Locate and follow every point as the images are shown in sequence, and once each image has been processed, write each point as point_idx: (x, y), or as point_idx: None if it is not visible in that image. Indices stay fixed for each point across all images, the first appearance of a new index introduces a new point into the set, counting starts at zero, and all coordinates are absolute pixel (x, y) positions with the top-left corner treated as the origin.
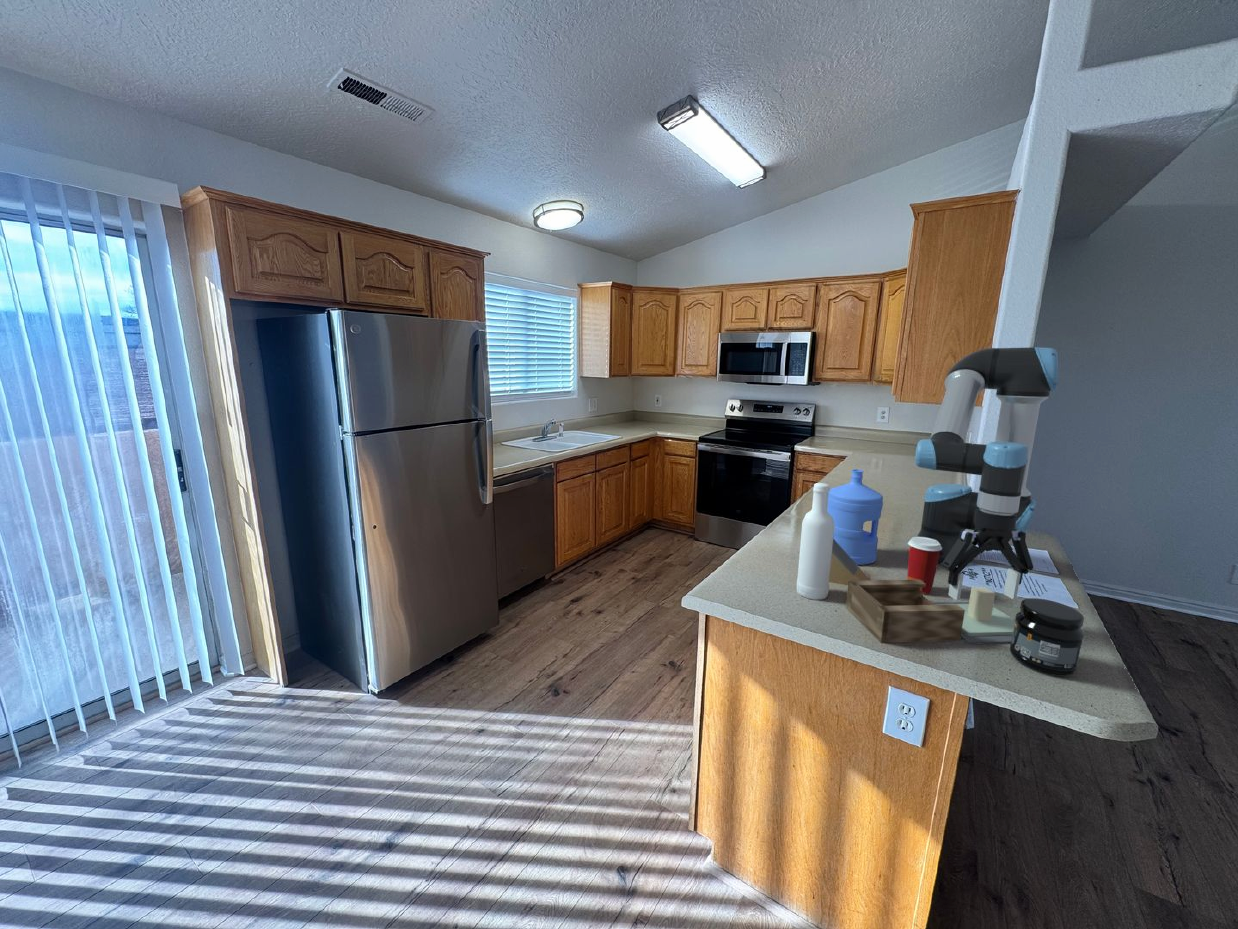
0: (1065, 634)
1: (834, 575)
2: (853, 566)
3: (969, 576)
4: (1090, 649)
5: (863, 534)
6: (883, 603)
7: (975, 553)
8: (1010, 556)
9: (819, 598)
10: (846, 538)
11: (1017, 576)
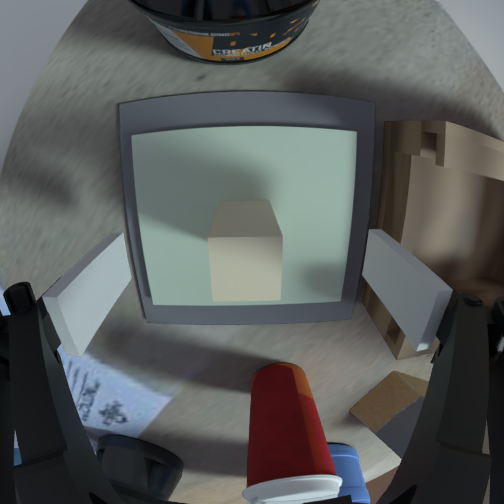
0: None
1: None
2: (406, 419)
3: (118, 409)
4: (51, 89)
5: None
6: (462, 287)
7: (467, 426)
8: (52, 409)
9: None
10: (357, 485)
11: (65, 286)
